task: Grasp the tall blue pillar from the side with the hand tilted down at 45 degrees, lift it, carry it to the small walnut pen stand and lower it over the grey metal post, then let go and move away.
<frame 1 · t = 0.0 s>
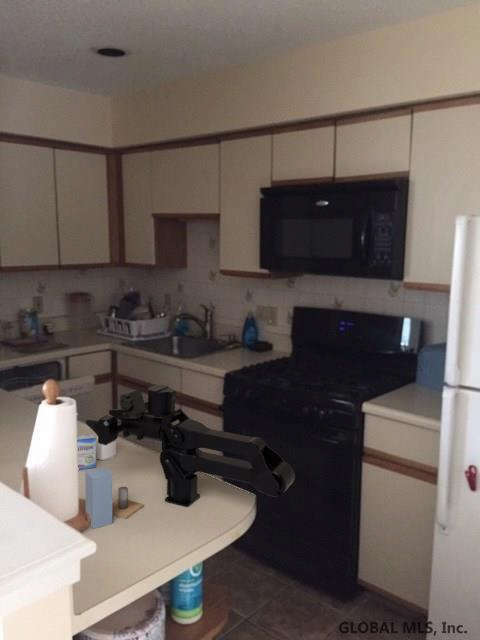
hand: (98, 416, 146), 17 cm above the table, tool horizontal, fingers open, 9 cm apart
pen stand: (123, 509, 132), on the table
tall blue pillar: (98, 522, 126), on the table
eye dropper bottle: (106, 458, 162), on the table
medicine box: (79, 467, 155), on the table
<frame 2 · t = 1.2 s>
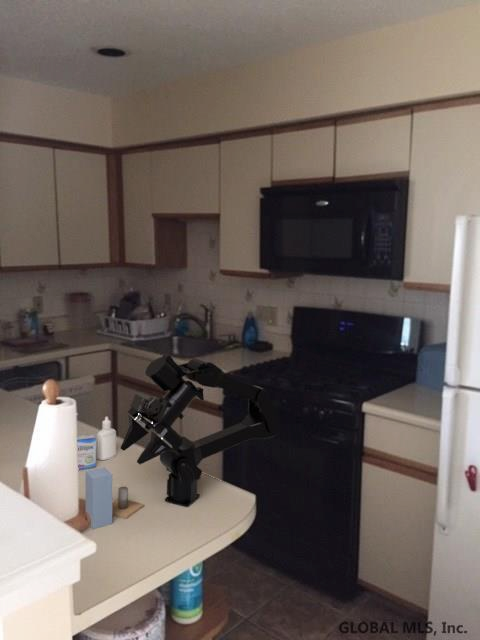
hand: (129, 456, 128), 14 cm above the table, tool tilted 45°, fingers open, 9 cm apart
nothing on the table moved.
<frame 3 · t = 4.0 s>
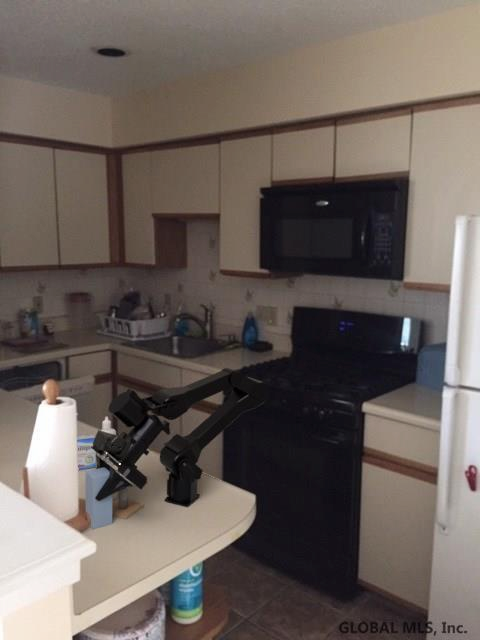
hand: (92, 495, 124), 7 cm above the table, tool tilted 45°, fingers closed on tall blue pillar, 4 cm apart
tall blue pillar: (98, 522, 126), on the table, touching gripper
everything else where it was.
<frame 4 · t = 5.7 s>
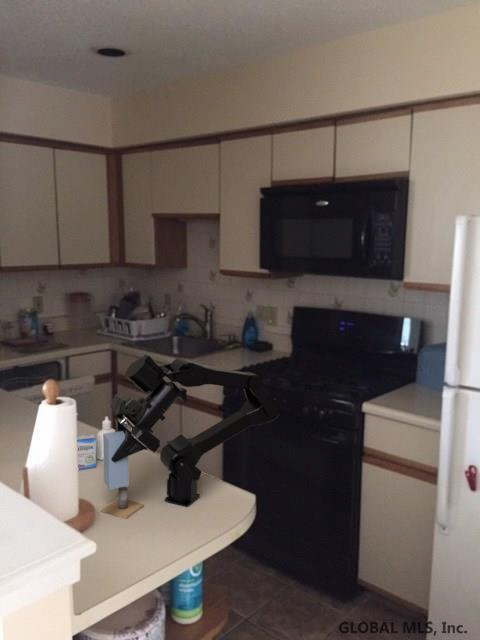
hand: (109, 457, 128), 14 cm above the table, tool tilted 45°, fingers closed on tall blue pillar, 4 cm apart
tall blue pillar: (116, 483, 129), point 7 cm above the table, touching gripper
everything else where it was.
when the fingers open (9 cm above the table, at t = 7.4 s): tall blue pillar drops 2 cm, resting on pen stand.
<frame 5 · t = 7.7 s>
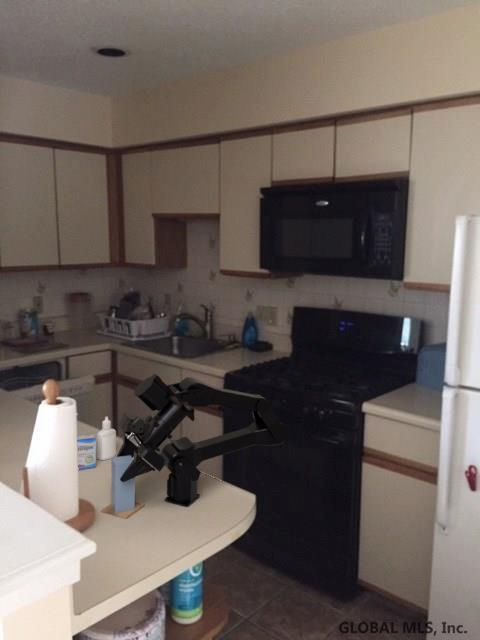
hand: (117, 473, 130), 9 cm above the table, tool tilted 45°, fingers open, 8 cm apart
tall blue pillar: (122, 507, 132), resting on pen stand
everything else where it was.
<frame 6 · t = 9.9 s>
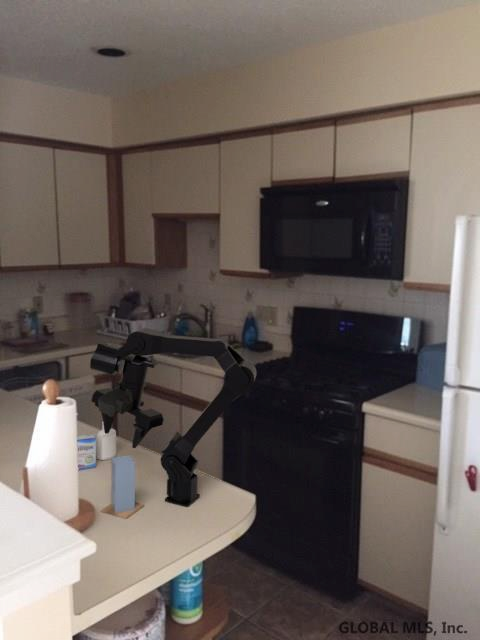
hand: (120, 440, 138), 14 cm above the table, tool pointing down, fingers open, 9 cm apart
nothing on the table moved.
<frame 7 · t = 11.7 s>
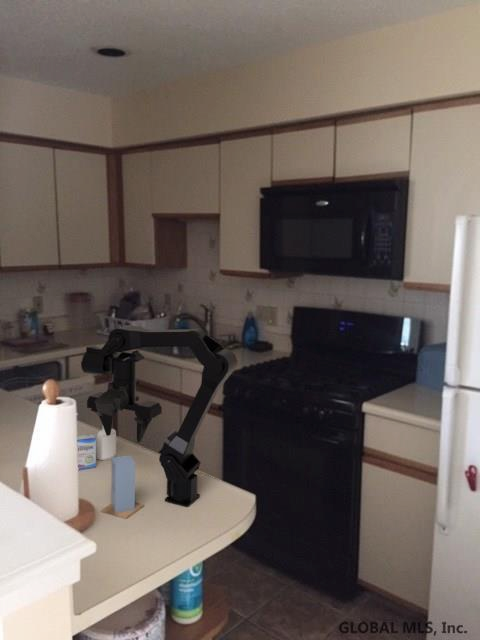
hand: (123, 438, 141), 13 cm above the table, tool pointing down, fingers open, 9 cm apart
nothing on the table moved.
at the end: tall blue pillar 0.1 cm from the pen stand (horizontally); tall blue pillar point 0.5 cm above the table; tall blue pillar tilted 0° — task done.
